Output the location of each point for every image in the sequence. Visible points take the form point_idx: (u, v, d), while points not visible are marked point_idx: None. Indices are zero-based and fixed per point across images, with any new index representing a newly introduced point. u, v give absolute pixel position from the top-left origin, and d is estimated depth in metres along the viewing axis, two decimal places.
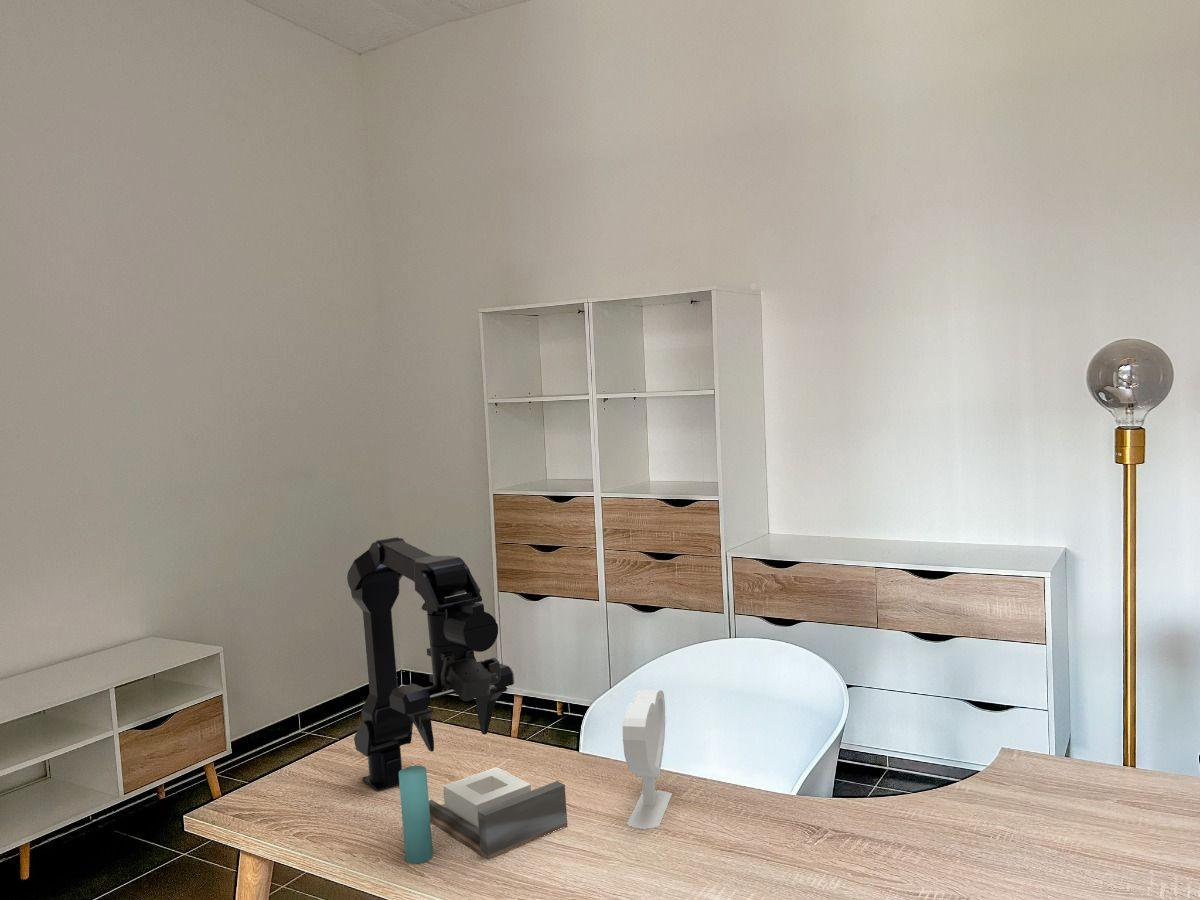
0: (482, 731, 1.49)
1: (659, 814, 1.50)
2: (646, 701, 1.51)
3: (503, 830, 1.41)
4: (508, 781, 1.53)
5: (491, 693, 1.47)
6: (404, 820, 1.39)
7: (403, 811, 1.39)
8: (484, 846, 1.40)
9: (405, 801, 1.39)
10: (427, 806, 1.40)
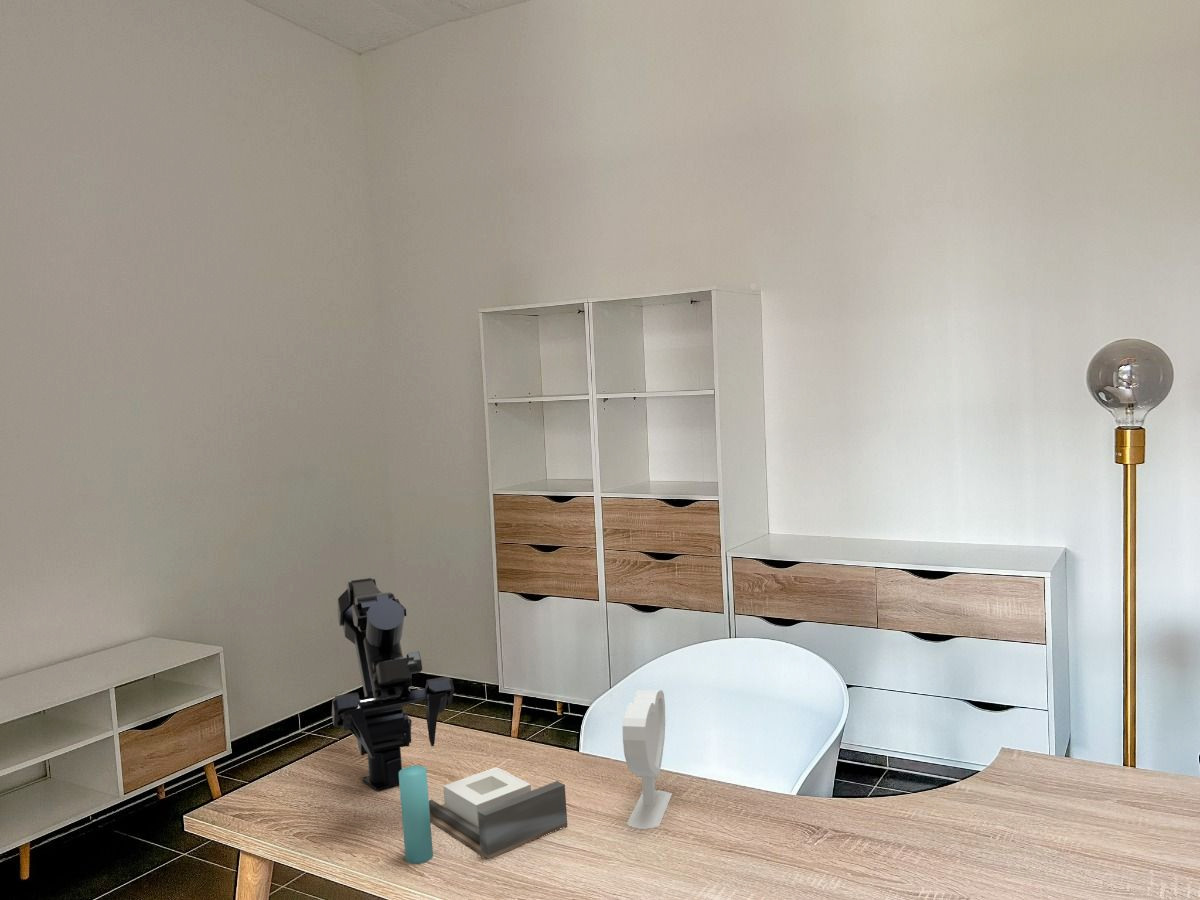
0: (431, 743, 1.49)
1: (659, 814, 1.50)
2: (646, 701, 1.51)
3: (503, 830, 1.41)
4: (508, 781, 1.53)
5: (429, 698, 1.51)
6: (404, 820, 1.39)
7: (403, 811, 1.39)
8: (484, 846, 1.40)
9: (405, 801, 1.39)
10: (427, 806, 1.40)
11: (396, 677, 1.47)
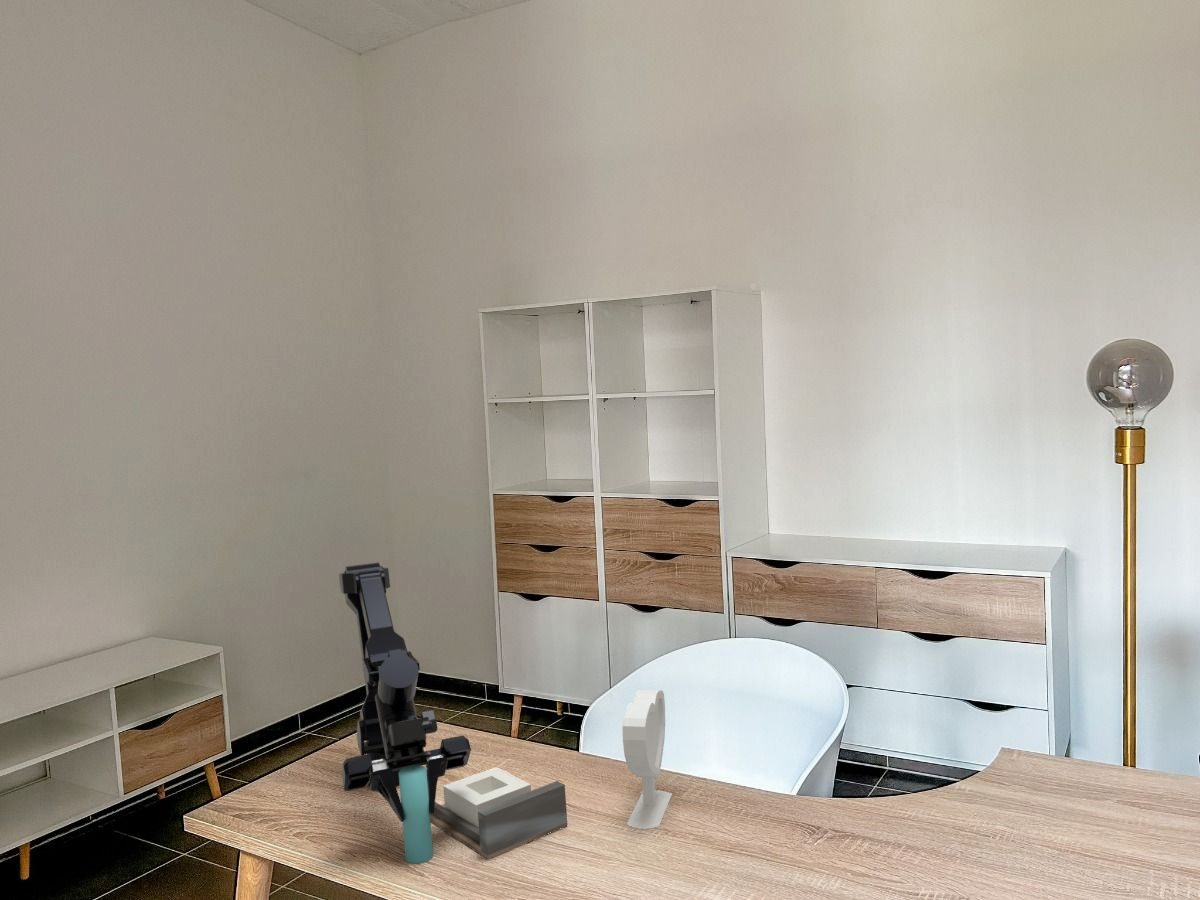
0: (430, 811, 1.41)
1: (659, 814, 1.50)
2: (646, 701, 1.51)
3: (503, 830, 1.41)
4: (508, 781, 1.53)
5: (428, 762, 1.43)
6: (404, 820, 1.39)
7: (403, 811, 1.39)
8: (484, 846, 1.40)
9: (405, 801, 1.39)
10: (427, 806, 1.40)
11: (410, 739, 1.39)
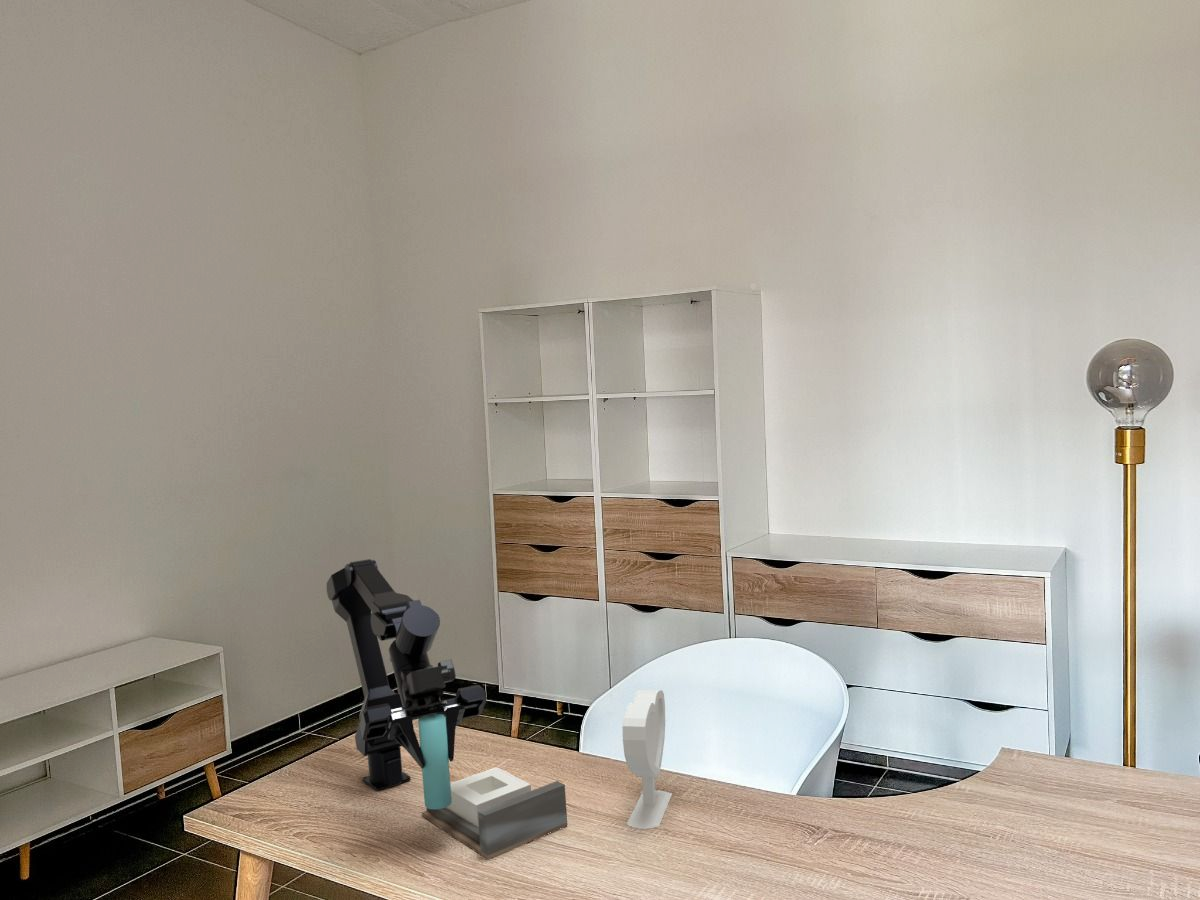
0: (449, 758, 1.43)
1: (659, 814, 1.50)
2: (646, 701, 1.51)
3: (503, 830, 1.41)
4: (508, 781, 1.53)
5: (446, 711, 1.45)
6: (424, 767, 1.41)
7: None
8: (484, 846, 1.40)
9: (425, 747, 1.41)
10: (447, 753, 1.42)
11: (430, 687, 1.41)
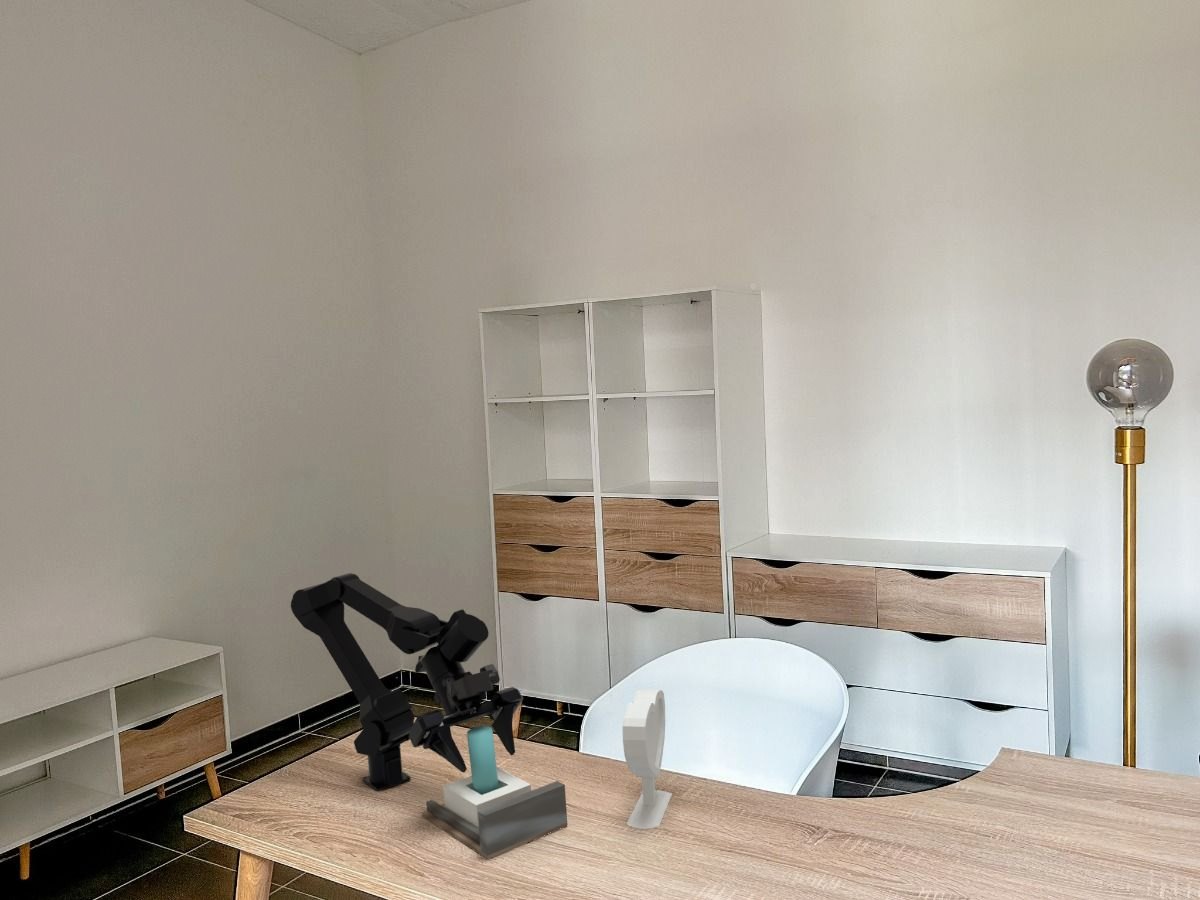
0: (510, 752, 1.53)
1: (659, 814, 1.50)
2: (646, 701, 1.51)
3: (503, 830, 1.41)
4: (508, 781, 1.53)
5: (503, 709, 1.56)
6: (476, 777, 1.50)
7: (475, 768, 1.50)
8: (484, 846, 1.40)
9: (477, 758, 1.50)
10: (495, 761, 1.52)
11: (481, 690, 1.50)
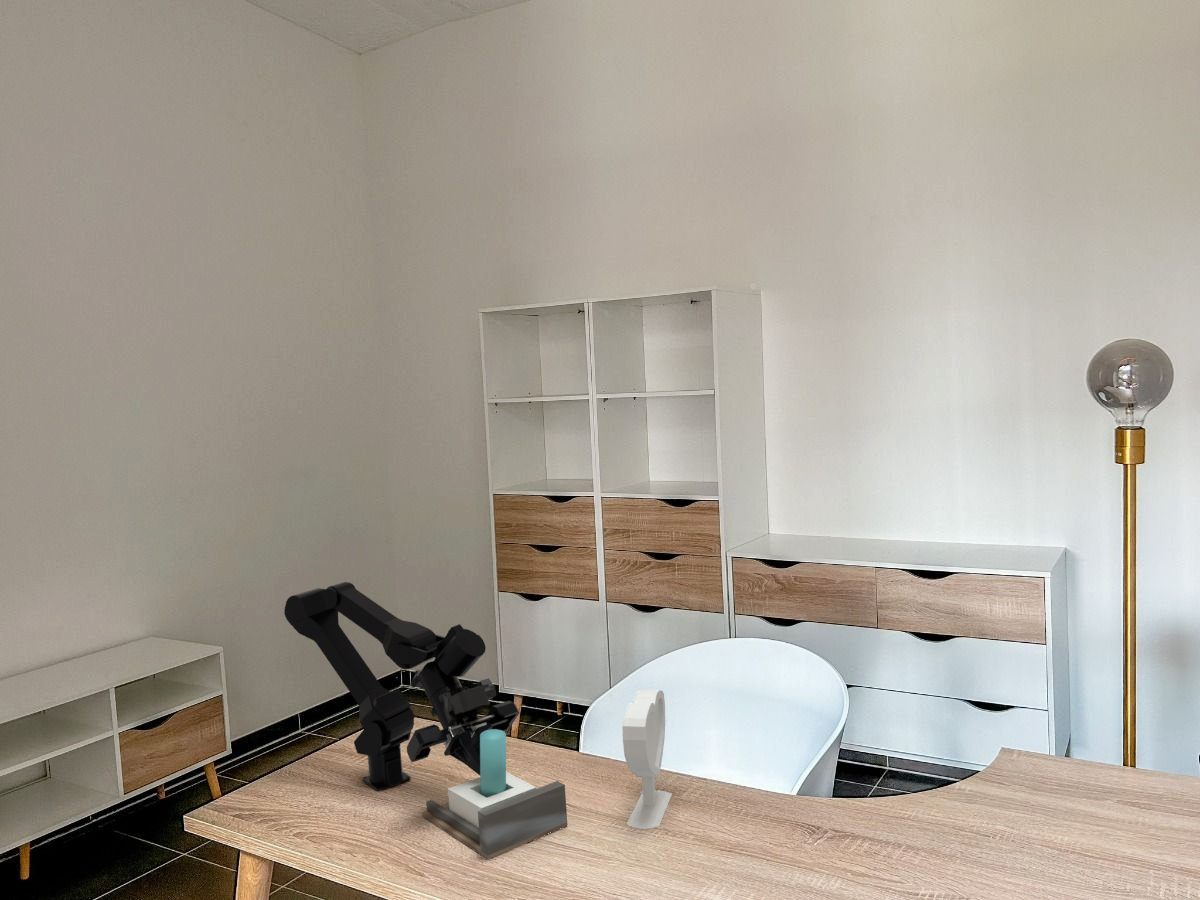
0: None
1: (659, 814, 1.50)
2: (646, 701, 1.51)
3: (503, 830, 1.41)
4: (513, 784, 1.52)
5: (477, 730, 1.54)
6: (485, 780, 1.48)
7: (485, 772, 1.48)
8: (484, 846, 1.40)
9: (488, 763, 1.48)
10: (505, 766, 1.50)
11: (478, 704, 1.52)
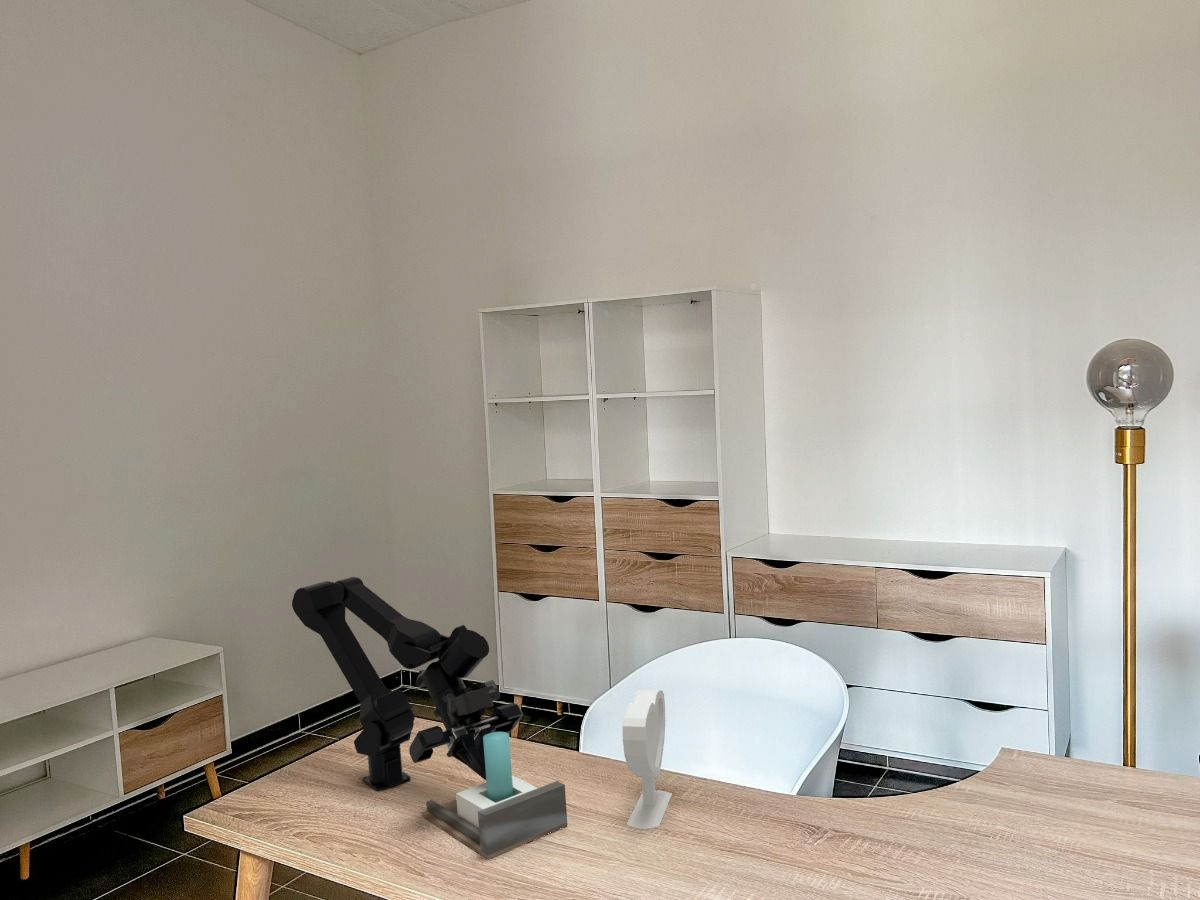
0: None
1: (659, 814, 1.50)
2: (646, 701, 1.51)
3: (503, 830, 1.41)
4: (522, 788, 1.50)
5: (480, 732, 1.53)
6: (491, 783, 1.47)
7: (490, 774, 1.47)
8: (484, 846, 1.40)
9: (493, 764, 1.47)
10: None
11: (481, 706, 1.51)
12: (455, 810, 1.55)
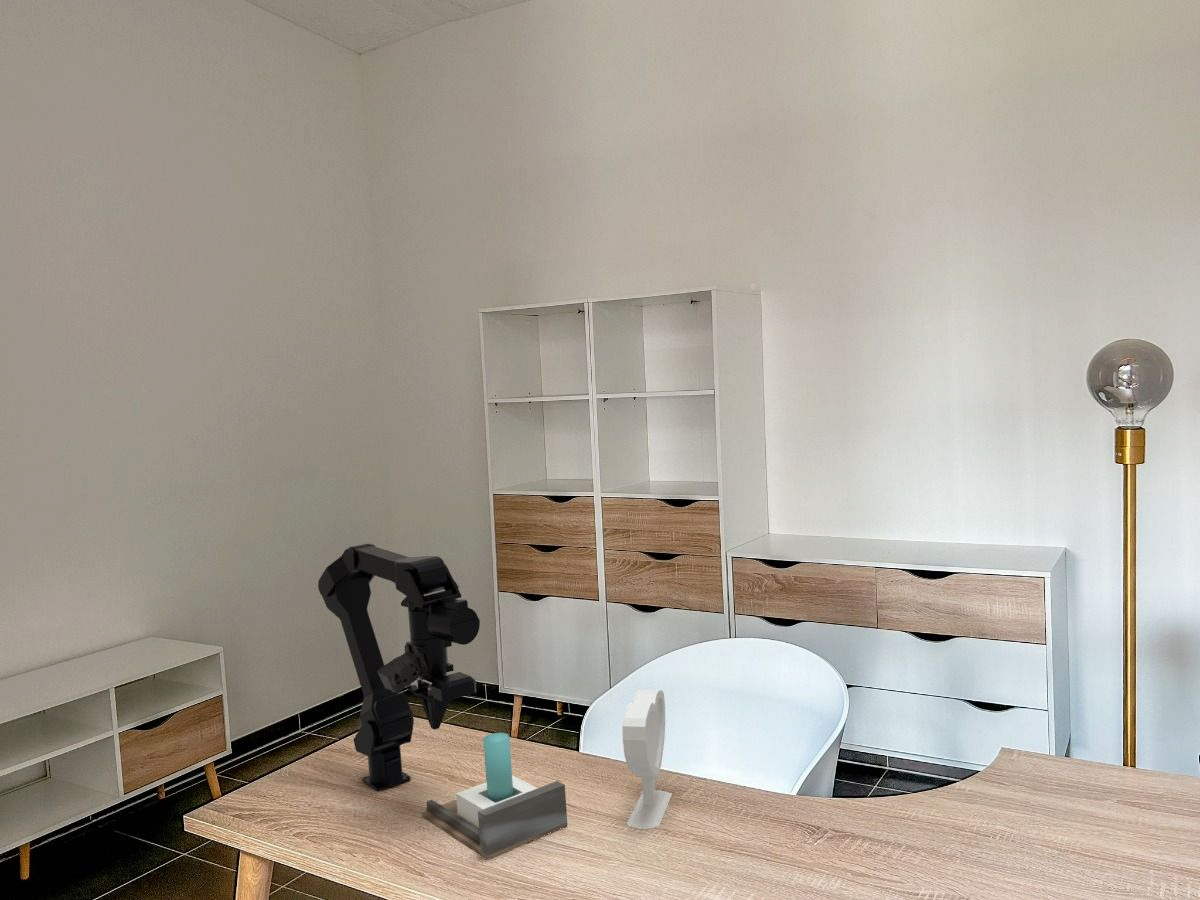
0: None
1: (659, 814, 1.50)
2: (646, 701, 1.51)
3: (503, 830, 1.41)
4: (522, 788, 1.50)
5: None
6: (492, 785, 1.47)
7: (491, 776, 1.47)
8: (484, 846, 1.40)
9: (493, 766, 1.46)
10: (511, 769, 1.49)
11: (389, 688, 1.52)
12: (455, 810, 1.55)
